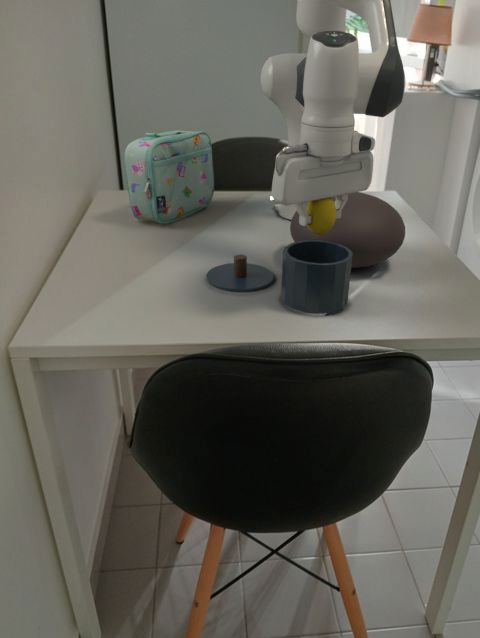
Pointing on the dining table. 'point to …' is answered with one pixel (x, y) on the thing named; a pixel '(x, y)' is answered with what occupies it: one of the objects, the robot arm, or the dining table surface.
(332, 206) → the lemon
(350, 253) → the tin
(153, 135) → the lunch box
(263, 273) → the lid
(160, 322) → the dining table surface
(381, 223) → the flattened ellipsoid
